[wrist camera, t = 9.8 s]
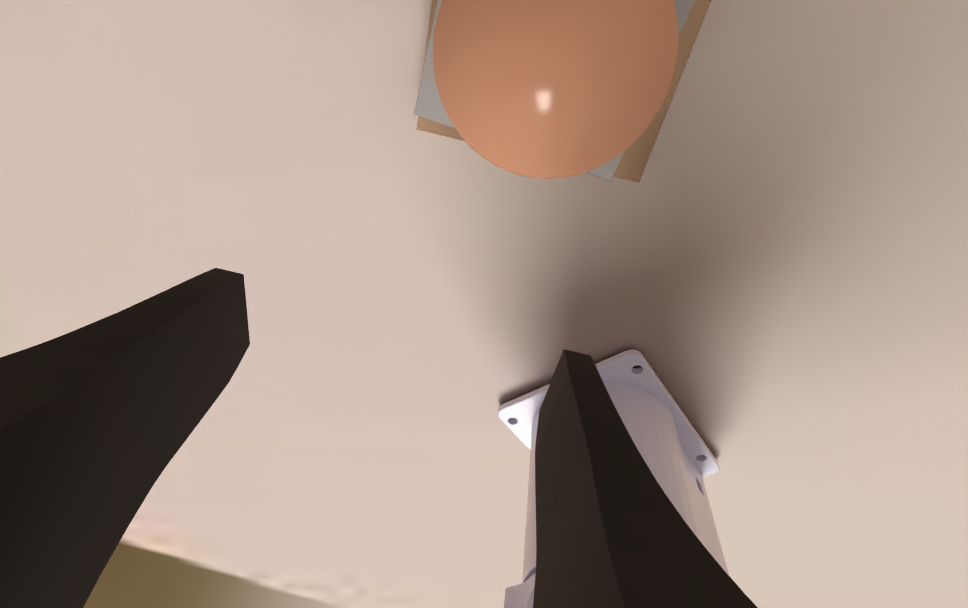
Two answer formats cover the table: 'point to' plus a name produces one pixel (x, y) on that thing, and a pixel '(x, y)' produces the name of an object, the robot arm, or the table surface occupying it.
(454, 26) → the clay cylinder
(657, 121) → the tower base
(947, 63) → the table surface
